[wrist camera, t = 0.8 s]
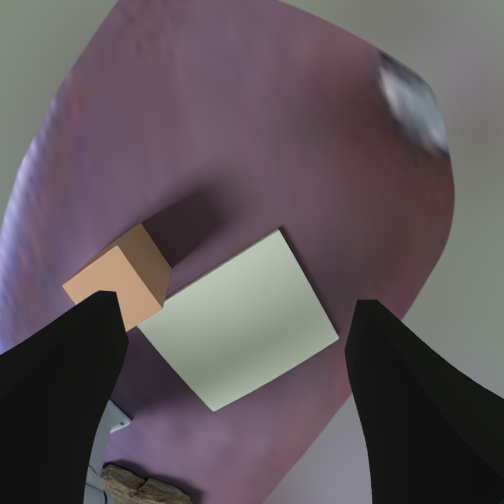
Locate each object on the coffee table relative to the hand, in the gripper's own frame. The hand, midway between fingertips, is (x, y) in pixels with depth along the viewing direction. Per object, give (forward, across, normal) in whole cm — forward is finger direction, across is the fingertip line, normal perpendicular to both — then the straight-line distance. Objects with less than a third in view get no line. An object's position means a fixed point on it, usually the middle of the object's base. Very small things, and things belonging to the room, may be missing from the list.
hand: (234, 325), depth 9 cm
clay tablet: (+5, +16, +41) cm, 44 cm away
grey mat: (+14, 0, +12) cm, 19 cm away
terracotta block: (+14, +9, +6) cm, 18 cm away
